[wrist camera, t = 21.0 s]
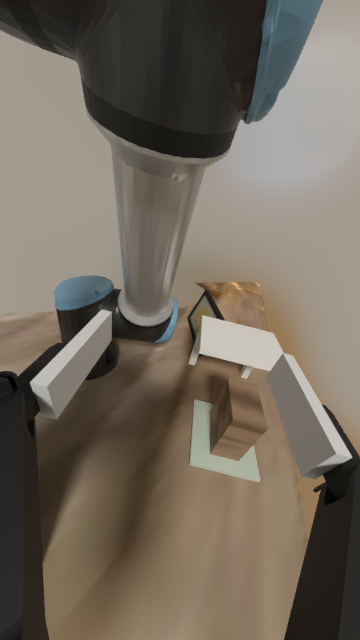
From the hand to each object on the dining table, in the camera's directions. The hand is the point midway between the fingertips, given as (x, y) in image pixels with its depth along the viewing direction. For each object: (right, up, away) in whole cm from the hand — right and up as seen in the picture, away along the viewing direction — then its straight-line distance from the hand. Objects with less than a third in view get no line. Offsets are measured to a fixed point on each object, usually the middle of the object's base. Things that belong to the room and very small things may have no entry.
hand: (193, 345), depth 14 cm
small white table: (+10, -17, +40) cm, 44 cm away
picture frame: (+8, -4, +59) cm, 59 cm away
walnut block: (+9, -24, +27) cm, 37 cm away
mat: (+8, -24, +28) cm, 38 cm away
